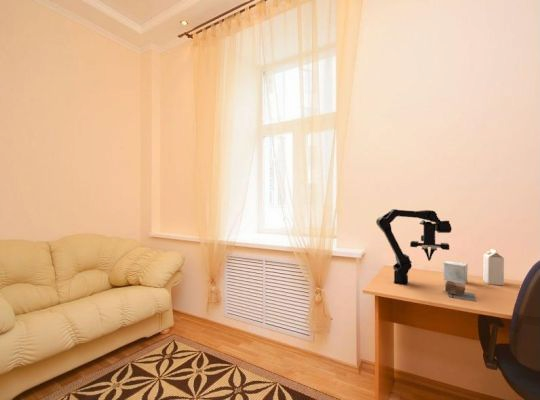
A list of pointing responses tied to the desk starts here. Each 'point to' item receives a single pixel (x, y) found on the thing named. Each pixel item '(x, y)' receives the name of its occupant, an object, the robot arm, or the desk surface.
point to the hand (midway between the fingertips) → (429, 260)
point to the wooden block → (454, 288)
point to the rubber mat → (466, 296)
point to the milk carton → (493, 268)
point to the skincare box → (455, 272)
